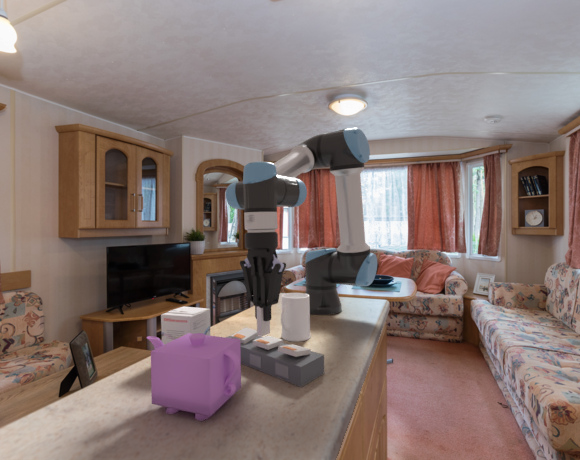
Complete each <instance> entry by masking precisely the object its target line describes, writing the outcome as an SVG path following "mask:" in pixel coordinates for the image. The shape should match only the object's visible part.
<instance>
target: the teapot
mask: <svg viewBox="0 0 580 460" xmlns="http://www.w3.org/2000/svg"><path fill="white" fill-rule="evenodd" d="M146 339H147V340H148V341H150V342H151V343H152V345H153V348H154V349H153V350H151V351H150V379H151V380H150V382H151V385H150V387H151V404H152V405H155V406H158V407H159V406H161V407H166V409H165V413H166V414H169V415H173V414H177V413H179V412H180V411H183V412H188V413H190V414H191V413H192V414H194V418H195V420H196V419H197V420H196V421H199V420H200V421H201V420H202V421H206V420H207V419H209V418H210V417H212V416H213V415H214V414H215V413H216V412H217V411H218V410H219V409H220V408H221V407H222V406H223V405H224V404H225V403H227V402H228V401H229V400H230V399H231V398H232V397H233V396H234V395H235V394H236V393H237V392H238V391H239V390H240V389H242V371H241V370H242V366H241V365H242V364H241V350H240V339H233V338H225V337H224V336H215V335H210V336H208V335H205V334H203V333H195V334H191V333H188V334H186V335H184V336H181V337H179V338H177V339H175V340H173V341H171V342H169V343H167V344H165V345H164V344H163V342H162V339H160V338H159V337H157V336H153V335H151V336H150V335H149V336H146ZM205 419H206V420H205Z"/></svg>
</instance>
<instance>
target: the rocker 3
mask: <svg viewBox="0 0 580 460" xmlns="http://www.w3.org/2000/svg"><path fill="white" fill-rule="evenodd" d="M278 351H279V352H282V353H286V354H289V355H292V356H295V357H297V356H303V355H309V354H310V352H311V351H312V350H311V348H307V347H304V346H300V345H296V344H293V343H292V344H289V345H284V346H278Z"/></svg>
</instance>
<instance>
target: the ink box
mask: <svg viewBox="0 0 580 460" xmlns="http://www.w3.org/2000/svg"><path fill="white" fill-rule="evenodd" d="M160 327H161V331H160V332H161V341H162V342H163V344H164V345H165V344H167V343H169V342H171V341H173V340H175V339H177V338H179V337H181V336H184V335H186V334H188V333H191V334H195V333H203V334H205V335H208V336H211V308H205V307H196V306H195V307H193V306H180V307H177V308H174V309H171V310H169V311H167V312H165V313H161V315H160Z"/></svg>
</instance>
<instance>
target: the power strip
mask: <svg viewBox="0 0 580 460" xmlns="http://www.w3.org/2000/svg"><path fill="white" fill-rule="evenodd" d="M262 337H263V336H259V335H258V336H257V337H255V338H253V339H252V340H250V341H249V342H247V343H245V344H243V343H240V350H241V365H244V366H246V367H248V368H252V369H253V370H257V371H259V372H262V373H264V374H266V375H270V376H271V377H274V378H277V379H279V380H282V381H284V382H287V383H290V384H292V385H294V386H297V387H300V388H302V387H304V386H306V385H307V384H308V383H311V382H312V381H314V380H316V379H317V378H319V377H321V376H323V375H325V354H323V353H318V352H315V351H313V350H311V352H310V354H309V355H303V356H297V357H295V356H292V355H289V354H286V353H282V352H279V351H278V346H277V347H274V348H271V349H269V350H268V349H264V348H261V347H258V346H255V345H253V340H255V339H259V338H262ZM225 338H231V335H229V336H226V337H225ZM284 345H290V344H288V343H286V342H283V344H282V345H279V346H284Z"/></svg>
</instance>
